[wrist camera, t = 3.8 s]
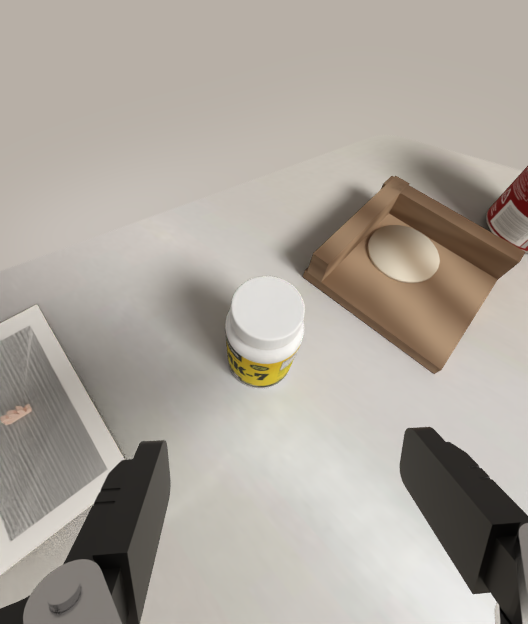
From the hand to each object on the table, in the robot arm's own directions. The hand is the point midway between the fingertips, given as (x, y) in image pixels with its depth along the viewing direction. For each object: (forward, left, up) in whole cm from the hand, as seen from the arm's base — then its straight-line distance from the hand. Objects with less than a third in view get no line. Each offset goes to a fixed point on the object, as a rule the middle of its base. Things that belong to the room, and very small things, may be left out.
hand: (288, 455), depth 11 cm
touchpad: (-8, +14, -12) cm, 20 cm away
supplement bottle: (+5, +5, -12) cm, 14 cm away
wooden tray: (+20, +1, -11) cm, 23 cm away
